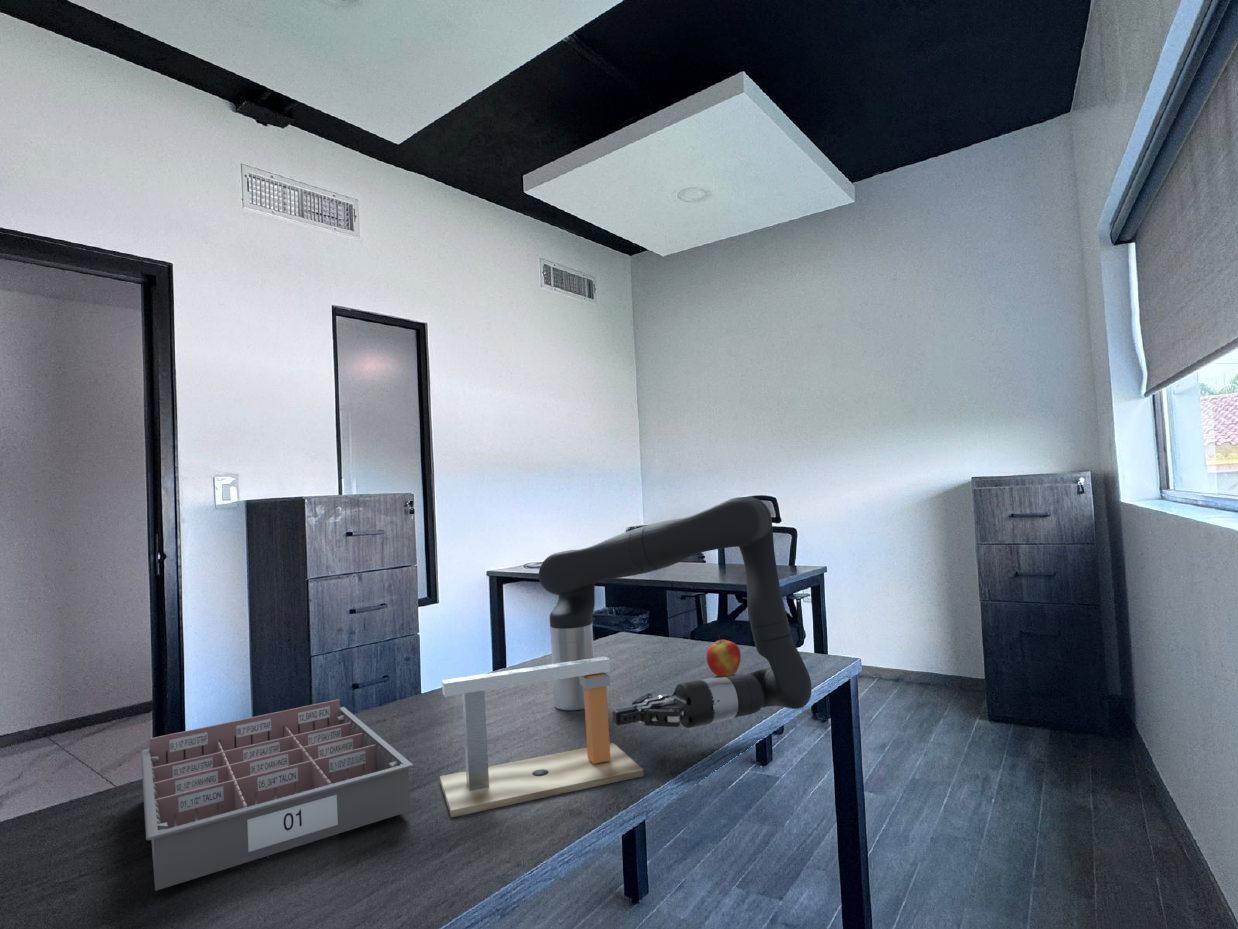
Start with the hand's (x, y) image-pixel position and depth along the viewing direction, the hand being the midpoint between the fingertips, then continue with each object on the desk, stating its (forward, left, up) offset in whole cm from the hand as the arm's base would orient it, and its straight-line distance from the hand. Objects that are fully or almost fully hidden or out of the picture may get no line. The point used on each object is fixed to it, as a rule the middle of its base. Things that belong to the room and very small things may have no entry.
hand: (614, 718), depth 117 cm
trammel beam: (0, -14, -7) cm, 16 cm away
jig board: (0, -13, -8) cm, 15 cm away
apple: (-38, +42, -8) cm, 57 cm away
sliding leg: (0, -3, -6) cm, 7 cm away
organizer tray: (-10, -53, -8) cm, 55 cm away
